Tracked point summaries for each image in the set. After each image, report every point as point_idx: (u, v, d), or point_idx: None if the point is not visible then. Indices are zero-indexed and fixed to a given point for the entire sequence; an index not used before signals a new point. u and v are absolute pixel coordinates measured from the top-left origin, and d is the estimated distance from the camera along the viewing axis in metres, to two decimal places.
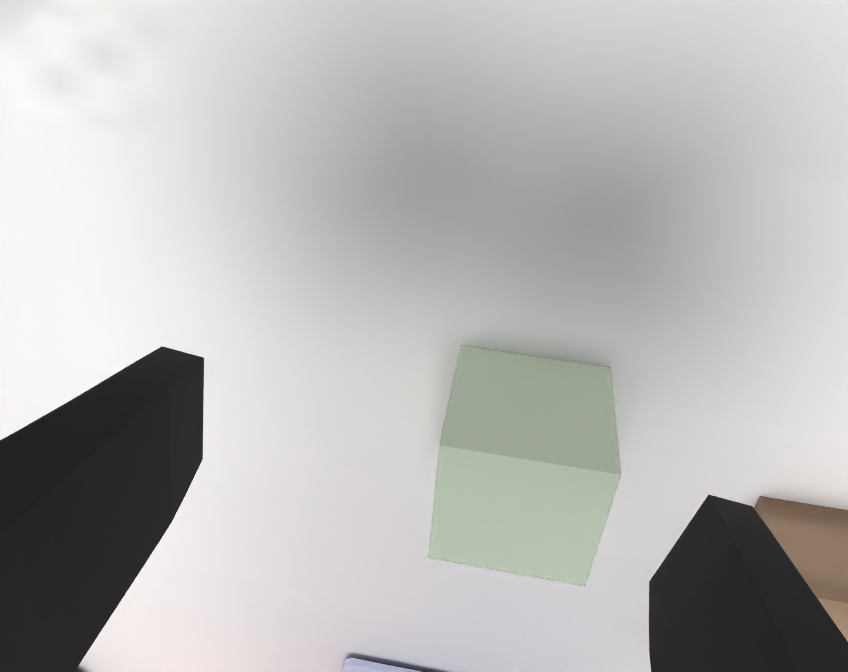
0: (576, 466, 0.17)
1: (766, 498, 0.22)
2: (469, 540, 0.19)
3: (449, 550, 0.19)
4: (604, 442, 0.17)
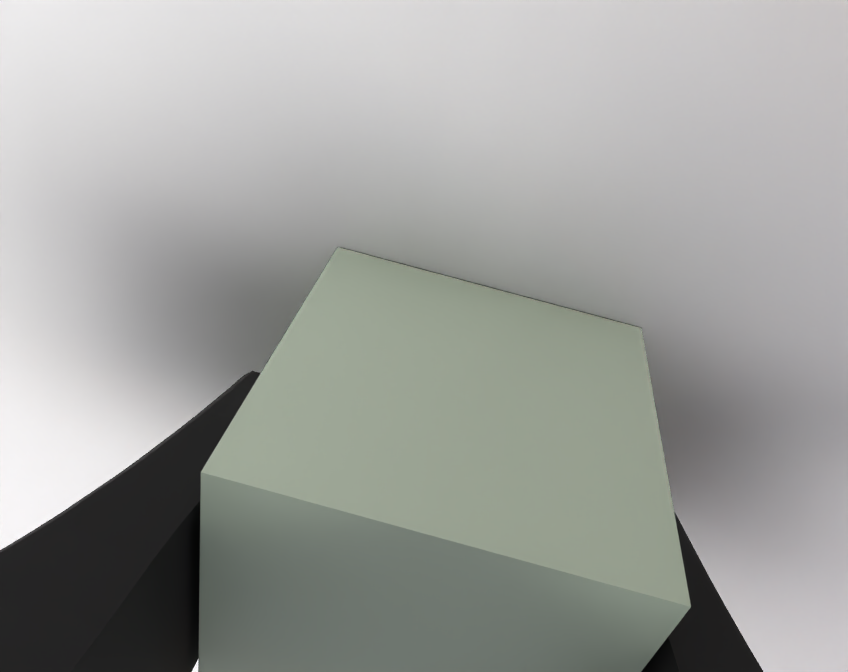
0: (201, 544, 0.07)
1: None
2: None
3: None
4: None
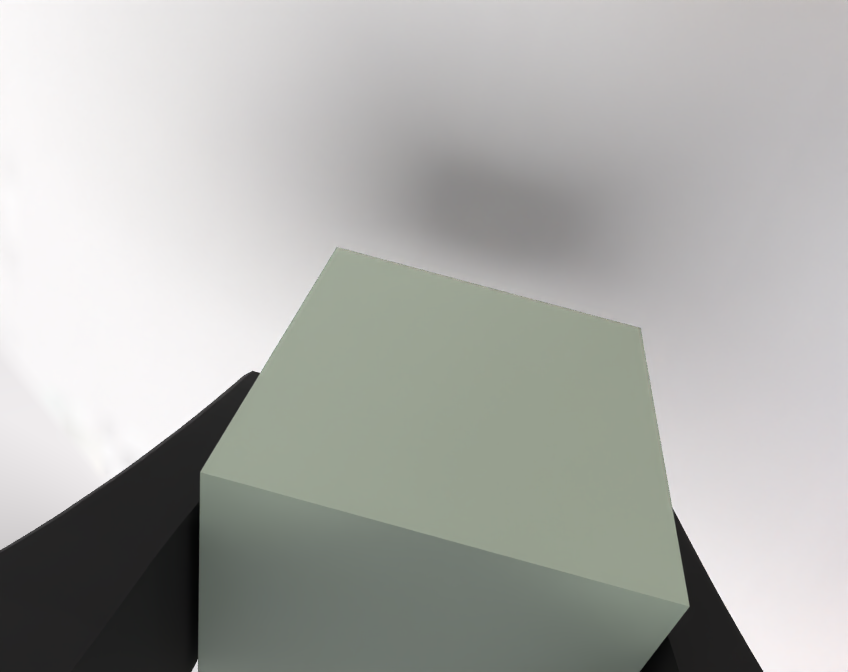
0: (201, 544, 0.07)
1: None
2: None
3: None
4: None
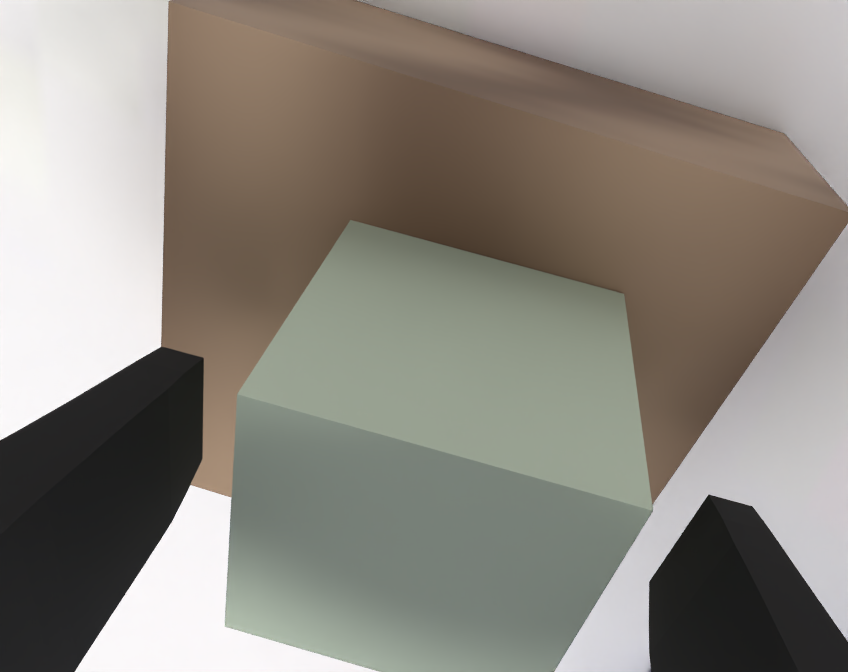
0: (234, 462, 0.08)
1: None
2: (472, 651, 0.09)
3: None
4: None
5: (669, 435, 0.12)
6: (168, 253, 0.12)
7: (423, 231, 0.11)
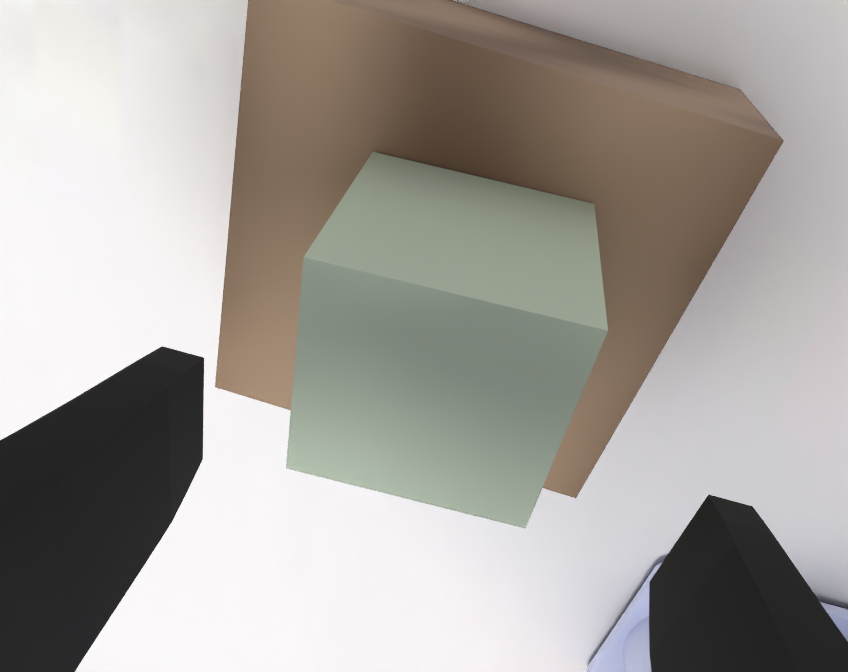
0: (299, 317, 0.10)
1: None
2: (480, 472, 0.12)
3: (506, 499, 0.12)
4: None
5: (645, 336, 0.15)
6: (236, 185, 0.14)
7: (446, 162, 0.13)
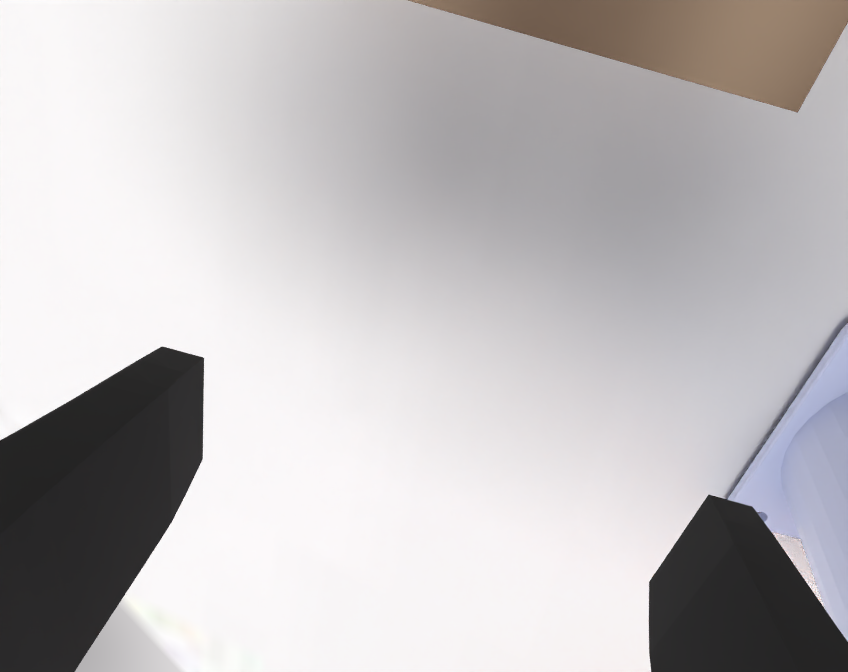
0: None
1: None
2: None
3: None
4: None
5: None
6: None
7: None
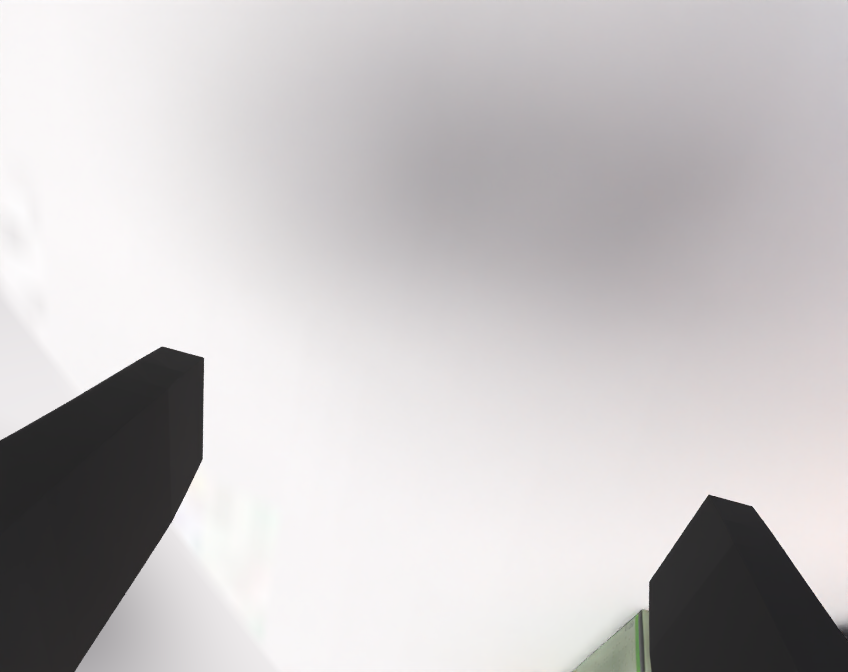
0: None
1: None
2: None
3: None
4: None
5: None
6: None
7: None
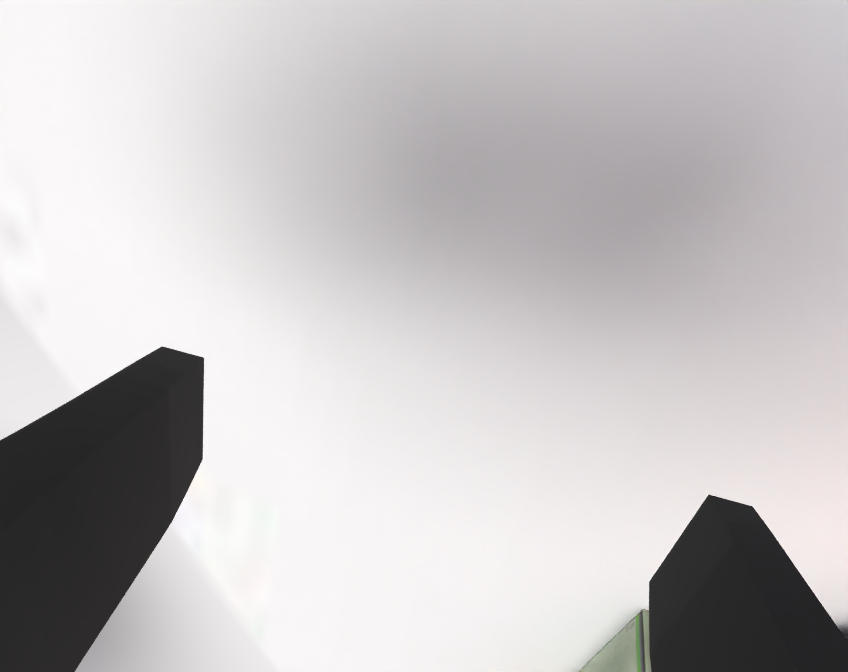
0: None
1: None
2: None
3: None
4: None
5: None
6: None
7: None
